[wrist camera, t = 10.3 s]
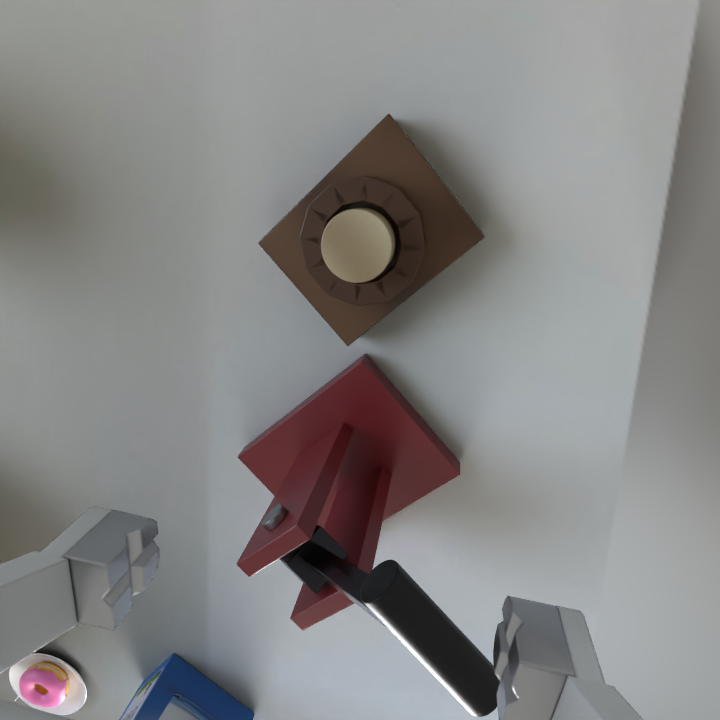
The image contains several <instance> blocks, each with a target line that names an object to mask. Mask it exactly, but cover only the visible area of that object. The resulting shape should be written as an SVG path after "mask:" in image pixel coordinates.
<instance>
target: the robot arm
mask: <svg viewBox="0 0 720 720" xmlns="http://www.w3.org/2000/svg"><path fill="white" fill-rule="evenodd" d="M157 534H158V527H157V522H156V521H155V520H153V519H150V518H146V517H142V516H138V515H134V514H129V513H125V512H121V511H117V510H111V509H107V508H103V507H99V506H95V507H92V508H90V509H88V510H87V511H86V512H85V513H84V514H83V515H82V516H80V517H79V518H78V519H77V520H76V521H75V522H74V523H73V524H71V525H70V526H69V527H68V528H67V529H66V530H65V531H64V532H62V533H61V534H60V535H59V536H58V537H57V538H56V539H55V540H53V541H52V542H51V543H50V544H49V545H48V546H47V547H46V548H44V549H43V550H42V551H41V552H38V551H33V552H30V553H27V554H25V555H22V556H20V557H17V558H15V559H12V560H9V561H7V562H4V563H2V564H0V674H1V673H2V672H4V671H5V670H7V669H9V668H10V667H12V666H13V665H15V664H17V663H18V662H20V661H21V660H23V659H24V658H26V657H28V656H29V655H31V654H32V653H34V652H36V651H37V650H39V649H40V648H42V647H44V646H45V645H47V644H48V643H50V642H52V641H53V640H55V639H56V638H58V637H59V636H61V635H63V634H64V633H66V632H67V631H69V630H71V629H72V628H74V627H75V626H77V625H78V623H81V624H86V625H91V626H95V627H100V628H104V629H109V630H115V628H116V627H117V626H118V624H119V623H120V622H121V620H122V619H123V618H124V617H125V615H126V614H127V613H128V611H129V610H130V609H131V607H132V606H133V597H132V596H134V595H136V594H138V593H140V592H142V591H143V590H145V589H146V587H147V586H148V585H149V583H150V582H151V580H152V579H153V577H154V574H155V572H156V570H157V567H158V562H159V547H158V546H157V545H156V543H155V542H154V540H153V539H154V538H155V536H156V535H157ZM502 611H503V620H504V621H502V622H501V623H499V624H498V626H497V630H496V634H495V641H494V650H493V658H494V673H495V674H496V676H497V677H498V679H499V680H500V683H499V686H498V690H497V693H496V696H497V707H498V717H499V720H643V719H642V717H641V716H640V715H639V714H638V713H637V712H636V711H635V710H634V709H633V707H632V706H631V705H630V704H629V703H628V702H627V701H626V700H625V699H624V697H623V696H622V695H621V694H620V693H619V692H618V691H617V690H616V689H615V687H614V686H610V685H607V684H605V681H604V677H603V674H602V671H601V668H600V665H599V662H598V658H597V656H596V652H595V649H594V646H593V643H592V639H591V636H590V633H589V630H588V627H587V624H586V620H585V617H584V615H583V613H582V612H581V611H580V610H575V609H570V608H565V607H560V606H554V605H550V604H545V603H540V602H535V601H530V600H525V599H521V598H516V597H511V596H507V598H506V599H505V602H504V605H503V608H502ZM0 720H73V719H70V718H66V717H62V716H59V715H55V714H52V713H48V712H45V711H41V710H38V709H34V708H30V707H27V706H23V705H20V704H16V703H13V702H9V701H6V700H2V699H0Z"/></svg>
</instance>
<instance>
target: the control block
mask: <svg viewBox="0 0 720 720" xmlns="http://www.w3.org/2000/svg"><path fill="white" fill-rule="evenodd" d="M354 208H369V209H373V210H375V211H377V212H379V213H380V214H382V215H383V216H384V217H385V218H386V219H387V220H388V221H389V223H390V224H391V226H392V228H393V231H394V234H395V240H396V247H395V252H394V255H393V258H392V260H391V262H390V263H389V264H388V266H387V267H386V268H385V270H384V271H383V272H382V273H381V274H380V275H379V276H377V277H376V278H374V279H372V280H370V281H367V282H363V283H352V282H348V281H345V280H342V279H340V278H339V277H337V276H336V275H335V274H333V273H332V272H331V270H330V269H329V268H328V267H327V265H326V263H325V261H324V259H323V256H322V251H321V239H322V234H323V232H324V229H325V227H326V226H327V224H328V223H329V221H330V220H331V219H332V218H333V217H335V216H336V215H337V214H339V213H341V212H343V211H346V210H350V209H354ZM483 238H484V235H483V233H482V232H481V230H480V229H479V228H478V227H477V225H476V224H475V223H474V221H473V220H472V219H471V218H470V216H469V215H468V214H467V212H466V211H465V210H464V209H463V207H462V206H461V205H460V203H459V202H458V201H457V199H456V198H455V197H454V196H453V194H452V193H451V192H450V190H449V189H448V188H447V187H446V185H445V184H444V183H443V181H442V180H441V179H440V178H439V176H438V175H437V174H436V172H435V171H434V170H433V169H432V167H431V166H430V165H429V163H428V162H427V161H426V160H425V158H424V157H423V156H422V154H421V153H420V152H419V151H418V149H417V148H416V147H415V145H414V144H413V143H412V142H411V140H410V139H409V138H408V136H407V135H406V134H405V133H404V131H403V130H402V129H401V127H400V126H399V125H398V123H397V122H396V121H395V120H394V118H393V117H392V116H391V115H390V114H388V115H387V116H386V117H385V118H384V119H383V120H382V121H381V122H380V123H379V124H378V125H377V126H376V127H375V128H374V129H373V130H372V131H371V132H370V133H369V134H368V135H367V136H366V137H365V138H364V139H363V140H362V141H361V142H360V143H358V144H357V145H356V146H355V147H354V148H353V149H352V150H351V151H350V152H349V153H348V154H347V155H346V156H345V157H344V158H343V159H342V160H341V161H340V162H339V163H338V164H337V165H336V166H335V167H334V168H333V169H332V170H331V171H330V172H329V173H328V174H327V175H326V176H325V177H324V178H323V179H322V180H321V181H320V182H319V183H318V184H317V185H316V186H315V187H314V188H313V189H312V190H311V191H310V192H309V193H308V194H307V195H306V196H305V197H304V198H303V199H302V200H301V201H300V202H299V203H298V204H297V205H296V206H295V207H294V208H293V209H292V210H291V211H290V212H289V213H288V214H287V215H286V216H285V217H284V218H283V219H282V220H281V221H280V222H279V223H278V224H277V225H276V226H275V227H274V228H273V229H272V230H271V231H270V232H269V233H268V234H267V235H266V236H264V237H263V238H262V239H261V240H260V241H259V245H260V246H261V247H262V248H263V249H264V250H265V252H266V253H267V254H268V255H269V256H270V257H271V258H272V260H273V261H274V262H275V263H276V264H277V265H278V267H279V268H280V269H281V270H282V271H283V272H284V273H285V275H286V276H287V277H288V278H289V279H290V280H291V281H292V283H293V284H294V285H295V286H296V287H297V288H298V290H299V291H300V292H301V293H302V294H303V295H304V296H305V298H306V299H307V300H308V301H309V302H310V303H311V304H312V306H313V307H314V308H315V309H316V310H317V311H318V313H319V314H320V315H321V316H322V317H323V318H324V319H325V321H326V322H327V323H328V324H329V325H330V326H331V327H332V329H333V330H334V331H335V332H336V333H337V334H338V336H339V337H340V338H341V339H342V340H343V341H344V342H345V344H346V345H347V346H349V345H350V344H351V343H352V342H354V341H355V340H356V339H357V338H359V337H360V336H361V335H362V334H364V333H365V332H366V331H367V330H369V329H370V328H371V327H372V326H374V325H375V324H376V323H377V322H379V321H380V320H381V319H383V318H384V317H385V316H386V315H388V314H389V313H390V312H391V311H393V310H394V309H395V308H396V307H398V306H399V305H400V304H401V303H403V302H404V301H405V300H406V299H408V298H409V297H410V296H411V295H413V294H414V293H415V292H416V291H418V290H419V289H420V288H421V287H423V286H424V285H425V284H426V283H428V282H429V281H430V280H431V279H433V278H434V277H435V276H436V275H438V274H439V273H440V272H442V271H443V270H444V269H445V268H447V267H448V266H449V265H450V264H452V263H453V262H454V261H455V260H457V259H458V258H459V257H460V256H462V255H463V254H464V253H465V252H467V251H468V250H469V249H470V248H472V247H473V246H474V245H475V244H477V243H478V242H479V241H480V240H482V239H483Z"/></svg>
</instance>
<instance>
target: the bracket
mask: <svg viewBox="0 0 720 720" xmlns="http://www.w3.org/2000/svg"><path fill="white" fill-rule="evenodd" d="M238 458H239V459H240V460H241V461H242V462H243V463H244V464H245V465H246V466H247V467H248V468H249V470H250V471H251V472H252V473H253V474H254V475H255V476H256V477H257V478H258V479H259V480H260V481H261V482H262V483H263V484H264V485H265V486H266V487H267V488H268V489H269V490H270V491H271V492H272V493H273V495H274V496H275V497H274V499H273V500H272V502H271V504H270V506H269V507H268V509H267V511H266V513H265V514H264V516H263V518H262V520H261V522H260V523H259V525H258V527H257V529H256V530H255V532H254V534H253V536H252V537H251V539H250V541H249V543H248V544H247V546H246V548H245V550H244V552H243V553H242V555H241V557H240V559H239V560H238V562H237V565H238V566H239V567H240V568H241V569H242V570H243V571H244V572H245V573H246V574H247V575H248V576H249V577H251V576H252V575H254V574H256V573H257V572H259V571H260V570H262V569H264V568H265V567H267V566H268V565H270V564H272V563H273V562H275V561H276V560H278V559H280V558H281V557H283V556H284V555H286V554H287V553H289V552H291V551H292V550H294V549H295V548H297V547H299V546H300V545H302V544H303V543H305V542H307V541H308V540H310V539H311V538H312V535H313V532H314V530H315V527H316V525H319V526H321V527H322V528H323V529H324V530H325V531H326V532H327V533H328V534H329V535H330V536H331V537H332V538H333V539H334V540H335V541H336V542H337V543H338V544H339V546H340V547H341V548H342V549H343V550H344V551H345V552H346V553H347V554H348V557H347V558H346V559H345V561H347V562H349V563H350V564H352V565H354V566H355V567H357V568H359V569H361V570H362V571H364V572H366V573H367V574H369V573H370V572H371V571H372V569H373V564H374V559H375V554H376V549H377V545H378V540H379V535H380V530H381V525H382V521H383V520H385V519H387V518H388V517H390V516H392V515H393V514H395V513H397V512H398V511H400V510H402V509H403V508H405V507H407V506H408V505H410V504H412V503H413V502H415V501H417V500H418V499H420V498H422V497H423V496H425V495H427V494H428V493H430V492H432V491H433V490H435V489H437V488H438V487H440V486H442V485H443V484H445V483H447V482H448V481H450V480H452V479H453V478H455V477H457V476H458V475H460V462H459V461H458V460H457V458H456V457H455V456H454V455H453V454H452V453H451V452H450V450H449V449H448V448H447V447H446V446H445V445H444V443H443V442H442V441H441V440H440V439H439V438H438V436H437V435H436V434H435V433H434V432H433V431H432V430H431V428H430V427H429V426H428V425H427V424H426V423H425V421H424V420H423V419H422V418H421V417H420V416H419V414H418V413H417V412H416V411H415V410H414V409H413V408H412V406H411V405H410V404H409V403H408V402H407V401H406V399H405V398H404V397H403V396H402V395H401V394H400V393H399V391H398V390H397V389H396V388H395V387H394V386H393V384H392V383H391V382H390V381H389V380H388V379H387V377H386V376H385V375H384V374H383V373H382V372H381V371H380V369H379V368H378V367H377V366H376V365H375V364H374V362H373V361H372V360H371V359H370V358H369V357H368V355H367V354H364V355H363V356H362V357H360V358H359V359H358V360H356V361H355V362H354V363H353V364H351V365H350V366H349V367H347V368H346V369H345V370H344V371H342V372H341V373H340V374H338V375H337V376H336V377H334V378H333V379H332V380H331V381H329V382H328V383H327V384H325V385H324V386H323V387H322V388H320V389H319V390H318V391H316V392H315V393H314V394H313V395H311V396H310V397H309V398H307V399H306V400H305V401H304V402H302V403H301V404H300V405H298V406H297V407H296V408H295V409H293V410H292V411H291V412H289V413H288V414H287V415H285V416H284V417H283V418H282V419H280V420H279V421H278V422H276V423H275V424H274V425H273V426H271V427H270V428H269V429H267V430H266V431H265V432H264V433H262V434H261V435H260V436H258V437H257V438H256V439H255V440H253V441H252V442H251V443H249V444H248V445H247V446H246V447H245V448H244V449H243V450H242V452H241V453H240V454H239V455H238ZM352 604H354V602H353V601H352V600H350V599H349V598H348V597H346V596H345V595H344V594H342V593H341V592H340V591H339V590H337V589H336V588H335V587H333V586H332V585H331V584H330V583H328V582H326V584H325V585H324V586H323V587H322V588H321V590H320V591H319V592H318V593H317V594H315V593H314V592H313V591H312V590H311V589H309V588H308V587H307V586H306V585H305V584H304V583H303V585H302V588H301V591H300V593H299V596H298V599H297V601H296V604H295V607H294V609H293V612H292V615H291V617H290V618H291V619H292V620H293V621H294V622H295V623H296V624H297V625H298V626H299V627H300V628H301V629H302V630H303V631H304V630H305V629H307V628H309V627H311V626H313V625H315V624H317V623H318V622H320V621H322V620H324V619H326V618H328V617H330V616H332V615H333V614H335V613H337V612H339V611H341V610H343V609H345V608H347V607H348V606H350V605H352Z"/></svg>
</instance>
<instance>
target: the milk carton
mask: <svg viewBox="0 0 720 720" xmlns="http://www.w3.org/2000/svg"><path fill="white" fill-rule="evenodd" d="M253 717H254V713H253V712H252V711H250V710H249V709H248V708H246V707H245V706H244V705H242V704H241V703H240V702H238V701H237V700H236V699H234V698H233V697H232V696H230V695H229V694H228V693H226V692H225V691H224V690H222V689H221V688H220V687H218V686H217V685H216V684H214V683H213V682H212V681H210V680H209V679H208V678H206V677H205V676H204V675H202V674H201V673H200V672H198V671H197V670H196V669H194V668H193V667H192V666H190V665H189V664H188V663H186V662H185V661H184V660H182V659H181V658H180V657H178V656H177V655H176V654H174V653H173V654H172V655H171V656H170V657H169V658H168V659H167V660H166V661H165V662H164V663H163V664H162V665H160V666H159V667H158V668H157V669H156V670H155V671H154V672H153V673H152V674H151V675H150V676H149V677H147V678H146V679H145V680H144V681H143V682H142V684H141V686H140V687H139V689H138V690H137V692H136V694H135V695H134V697H133V698H132V700H131V702H130V703H129V705H128V707H127V708H126V710H125V711H124V713H123V715H122V716H121V718H120V719H119V720H253Z"/></svg>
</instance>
